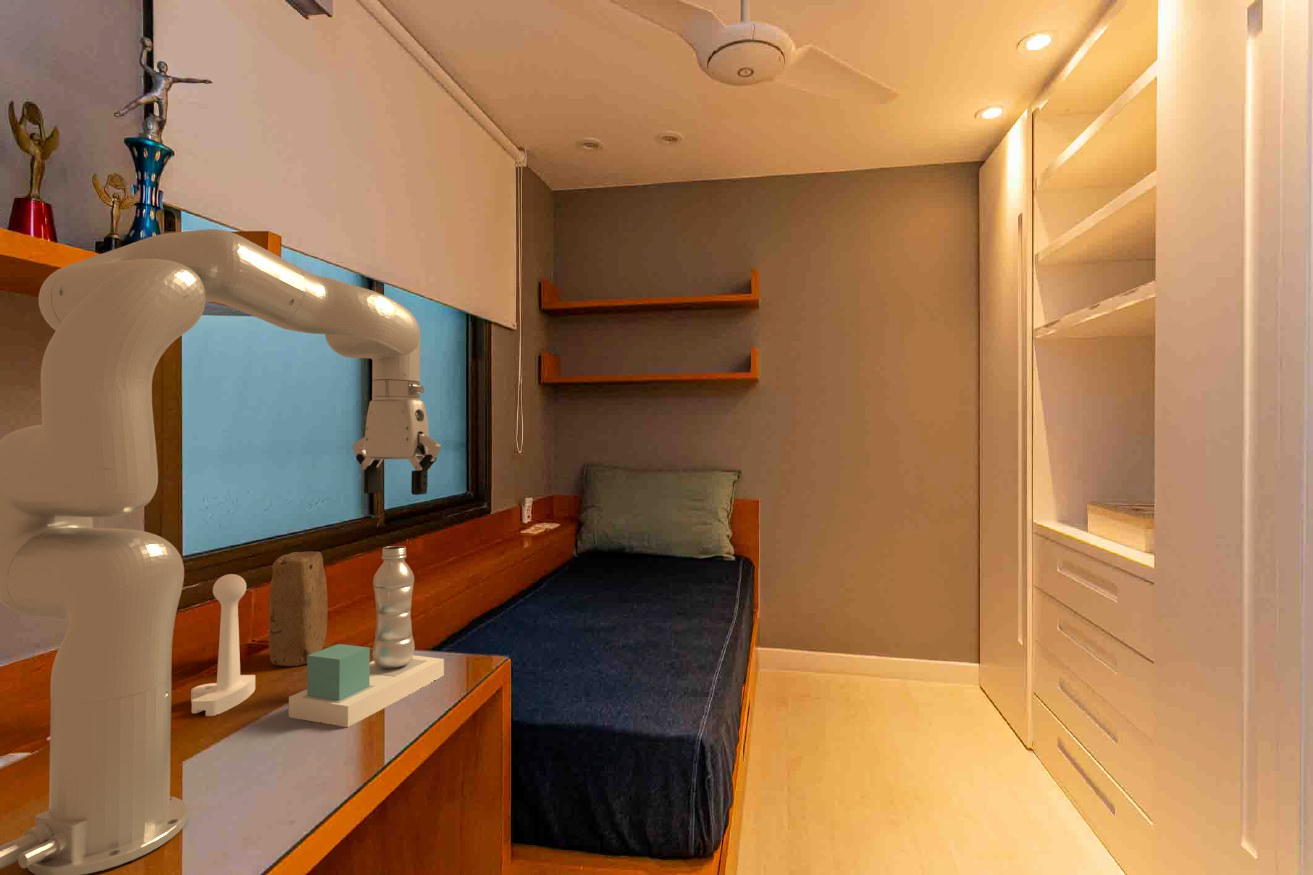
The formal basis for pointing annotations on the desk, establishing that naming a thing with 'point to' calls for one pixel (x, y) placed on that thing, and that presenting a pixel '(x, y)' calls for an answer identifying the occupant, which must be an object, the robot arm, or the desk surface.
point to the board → (369, 693)
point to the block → (297, 608)
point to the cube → (338, 671)
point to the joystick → (226, 655)
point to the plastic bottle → (393, 610)
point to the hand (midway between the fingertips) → (395, 493)
